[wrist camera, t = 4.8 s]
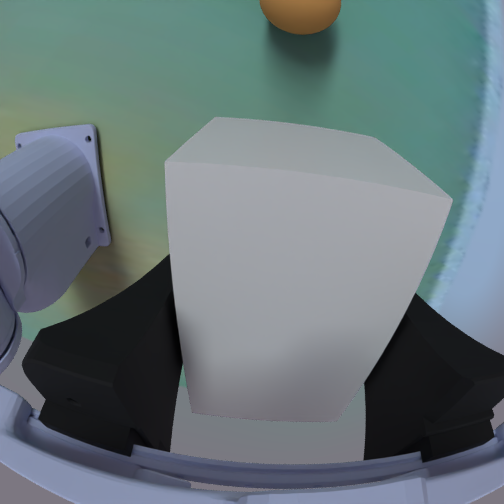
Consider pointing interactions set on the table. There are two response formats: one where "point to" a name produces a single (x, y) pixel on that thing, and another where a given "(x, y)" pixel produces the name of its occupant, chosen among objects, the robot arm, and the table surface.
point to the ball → (301, 14)
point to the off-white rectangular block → (292, 263)
